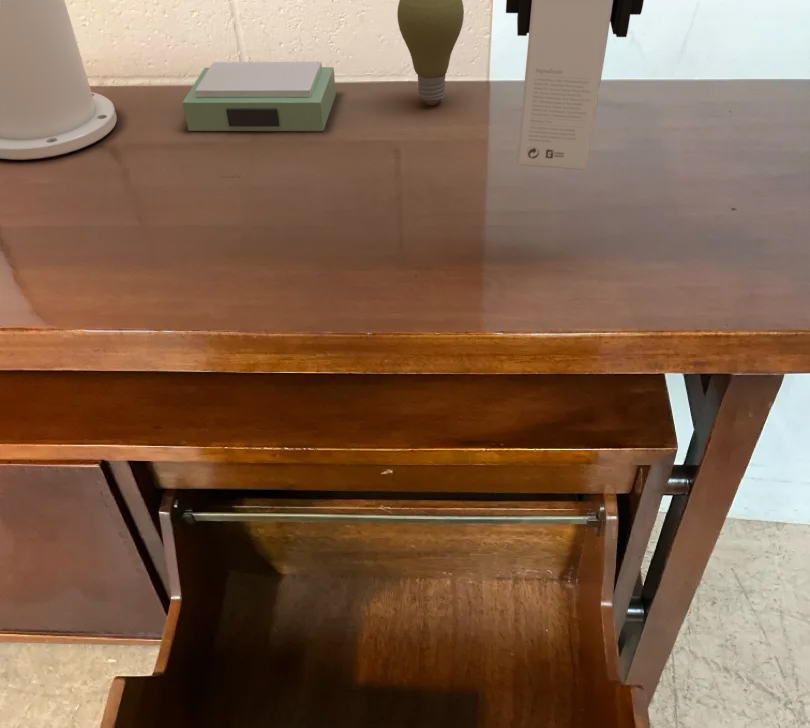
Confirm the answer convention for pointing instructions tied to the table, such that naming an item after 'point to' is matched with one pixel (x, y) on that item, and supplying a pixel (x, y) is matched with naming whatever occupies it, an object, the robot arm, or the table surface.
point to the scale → (261, 97)
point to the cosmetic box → (562, 81)
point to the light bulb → (430, 41)
